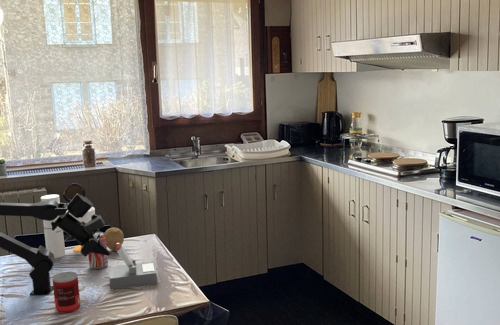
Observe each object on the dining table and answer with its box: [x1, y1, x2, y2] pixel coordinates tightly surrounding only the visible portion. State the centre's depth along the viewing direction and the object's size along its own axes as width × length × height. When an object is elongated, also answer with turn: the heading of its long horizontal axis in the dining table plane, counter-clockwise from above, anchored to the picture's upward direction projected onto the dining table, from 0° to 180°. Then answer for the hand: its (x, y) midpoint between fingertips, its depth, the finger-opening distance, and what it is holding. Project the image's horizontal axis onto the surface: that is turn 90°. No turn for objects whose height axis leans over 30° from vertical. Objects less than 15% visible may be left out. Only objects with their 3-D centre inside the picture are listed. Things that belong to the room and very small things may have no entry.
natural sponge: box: [103, 227, 125, 252], centre depth 234 cm, size 9×9×10 cm
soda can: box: [87, 231, 109, 270], centre depth 216 cm, size 7×7×13 cm
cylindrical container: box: [40, 194, 66, 259], centre depth 230 cm, size 7×7×25 cm
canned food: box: [51, 271, 81, 314], centre depth 180 cm, size 8×8×11 cm
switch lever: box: [114, 243, 135, 268], centre depth 200 cm, size 3×6×11 cm, turn 12°
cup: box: [66, 206, 96, 253], centre depth 238 cm, size 12×12×17 cm
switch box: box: [109, 258, 158, 290], centre depth 201 cm, size 16×12×6 cm
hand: (109, 254), depth 198 cm, fingers closed
